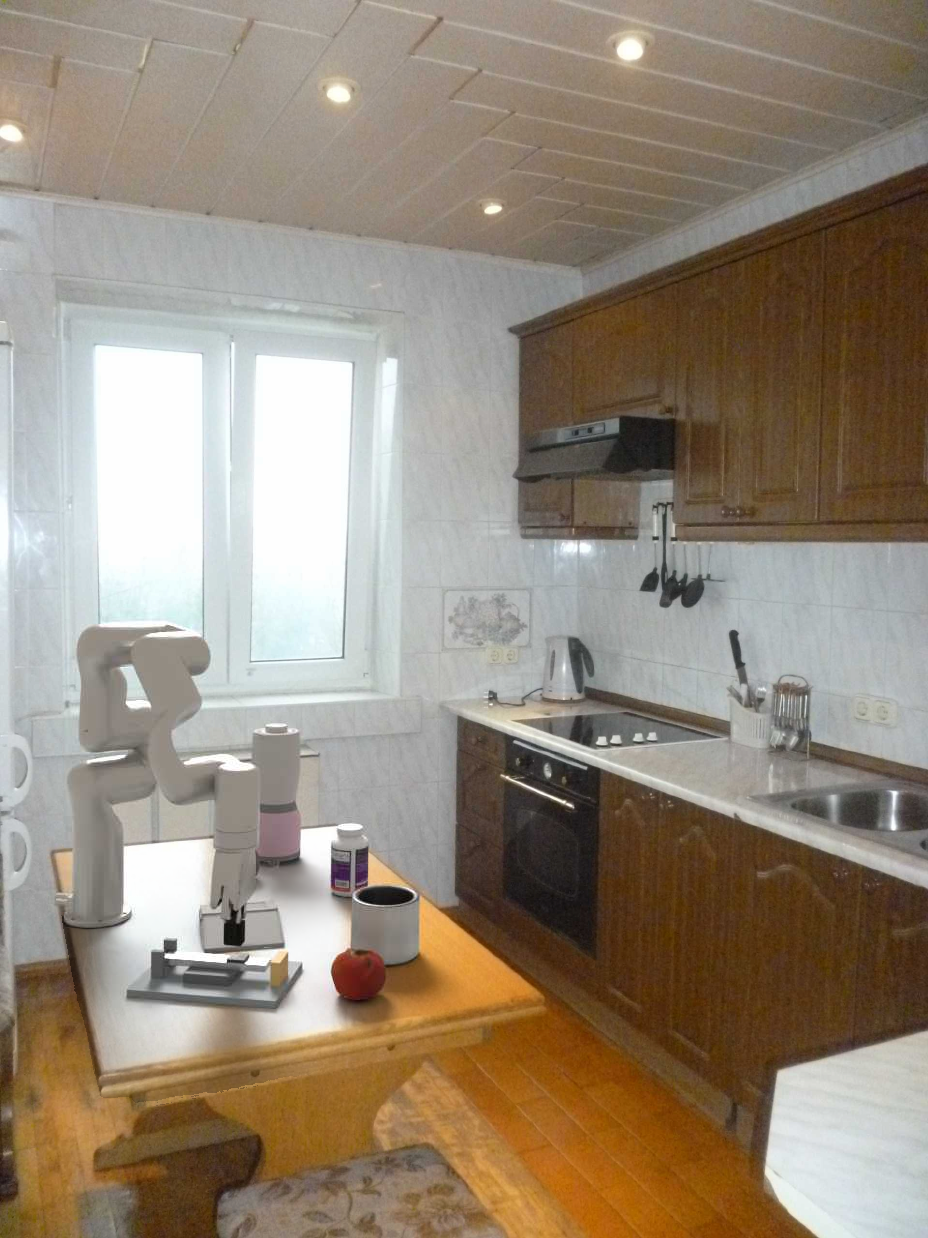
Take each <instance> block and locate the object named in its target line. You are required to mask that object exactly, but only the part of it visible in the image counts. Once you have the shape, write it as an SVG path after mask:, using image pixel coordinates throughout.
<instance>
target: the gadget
mask: <svg viewBox="0 0 928 1238" xmlns="http://www.w3.org/2000/svg"><path fill="white" fill-rule="evenodd" d="M199 907H200V909H198V911H199V912H198V913H199V920H200V928H201V929H200V932H201V934H200V935H201V948H202V950H203V951H202V952H203V953H204V954H207V953H216V952H218V953H219V952H230V951H232V952H233V951H242V950H243V949H244V950H254V949H253V948H257V949H265V948H264V947H270V948H280V947H285V946H286V943H285V937H284V931H283V925H282V920H281V915H280V914H281V913H280V911H279V908H278V906H277V905H276V903H275V902H274V900H272V899H271V900H258V901H247V905H246V917H245V919H242V920H245V942H244V943H243V944H242V945H241V946H229V945H224V943H223V942H224V922H223V920H222V919H221V907H222V903H221V904H220V905H219V906H218V907H217V908H216V909H212V908H211V906H210V904H200V906H199ZM206 952H207V953H206Z"/></svg>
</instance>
